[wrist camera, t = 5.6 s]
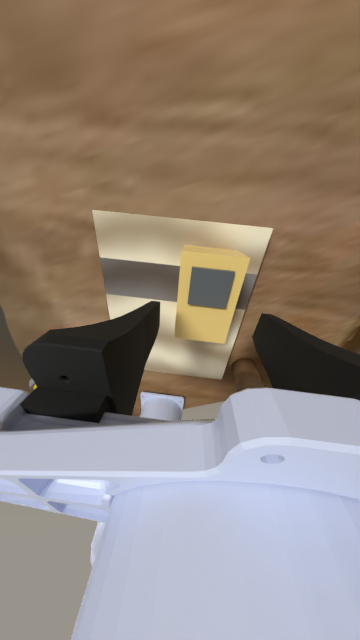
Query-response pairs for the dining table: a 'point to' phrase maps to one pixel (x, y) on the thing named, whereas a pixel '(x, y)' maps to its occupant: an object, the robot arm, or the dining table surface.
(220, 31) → the dining table surface
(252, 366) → the brown cylindrical piece
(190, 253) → the stud finder
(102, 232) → the panel
